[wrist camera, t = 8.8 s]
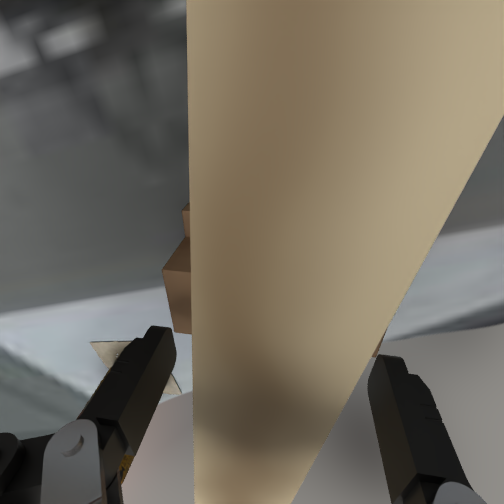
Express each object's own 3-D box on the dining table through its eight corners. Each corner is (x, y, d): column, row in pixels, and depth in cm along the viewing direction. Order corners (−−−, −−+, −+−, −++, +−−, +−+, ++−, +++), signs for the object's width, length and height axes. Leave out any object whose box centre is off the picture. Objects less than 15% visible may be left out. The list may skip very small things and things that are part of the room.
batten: (436, 2, 7) (622, -103, 3) (281, 437, 18) (276, 529, 15) (248, -19, 7) (183, -137, 3) (215, 423, 19) (194, 510, 15)
